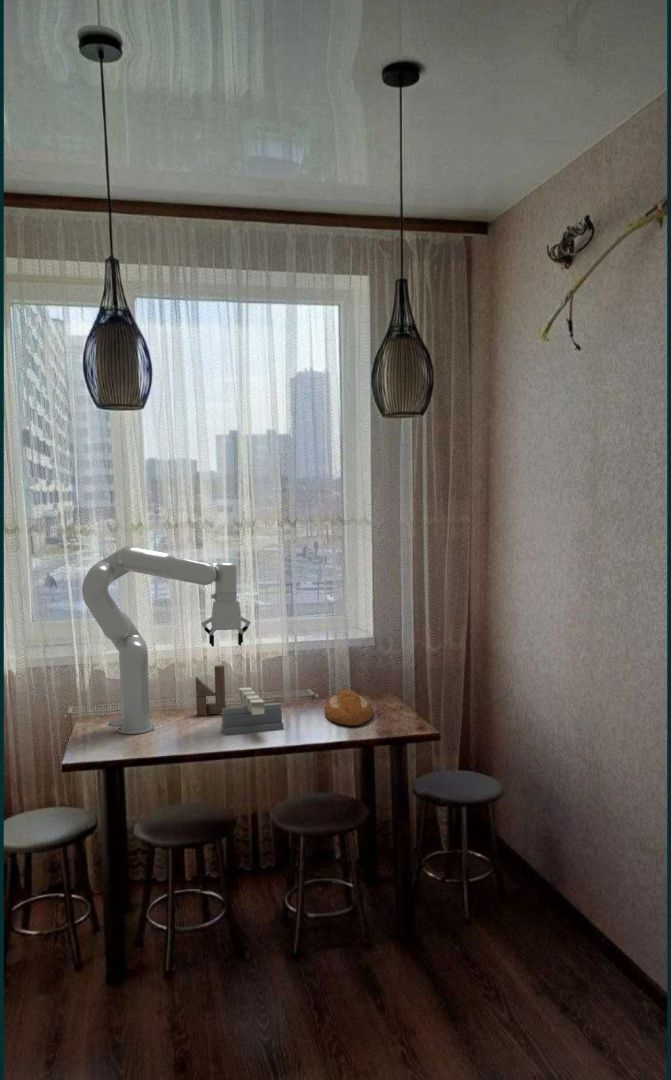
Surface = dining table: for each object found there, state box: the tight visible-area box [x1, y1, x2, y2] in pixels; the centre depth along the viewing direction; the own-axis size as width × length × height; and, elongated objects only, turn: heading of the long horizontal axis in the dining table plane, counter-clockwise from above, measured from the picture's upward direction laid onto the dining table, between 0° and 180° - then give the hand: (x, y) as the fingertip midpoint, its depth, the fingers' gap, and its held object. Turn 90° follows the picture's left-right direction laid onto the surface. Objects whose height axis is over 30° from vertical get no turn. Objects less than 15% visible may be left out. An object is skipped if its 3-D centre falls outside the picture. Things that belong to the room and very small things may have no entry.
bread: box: [324, 688, 374, 727], centre depth 307 cm, size 18×35×9 cm, turn 4°
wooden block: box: [195, 664, 227, 716], centre depth 314 cm, size 4×11×18 cm, turn 98°
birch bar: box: [238, 686, 265, 715], centre depth 291 cm, size 24×4×4 cm, turn 17°
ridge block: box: [221, 702, 284, 736], centre depth 291 cm, size 20×8×8 cm, turn 107°
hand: (226, 645), depth 301 cm, fingers open, 9 cm apart
